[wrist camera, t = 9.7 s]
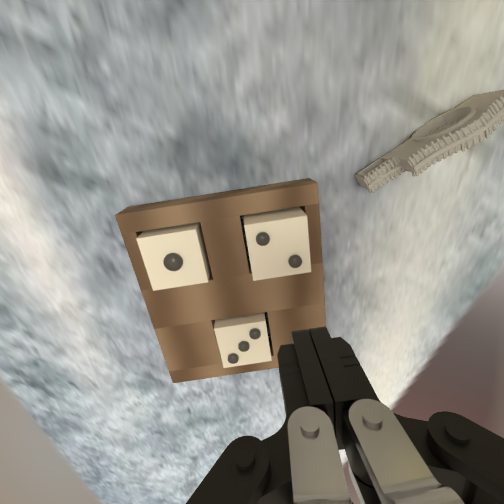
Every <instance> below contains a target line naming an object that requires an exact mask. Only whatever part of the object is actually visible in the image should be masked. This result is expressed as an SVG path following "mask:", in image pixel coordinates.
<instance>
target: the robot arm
mask: <svg viewBox="0 0 504 504" xmlns="http://www.w3.org/2000/svg"><path fill="white" fill-rule="evenodd" d="M290 334H291V344H286V345H280V348H279V351H278V354H277V358H278V366H279V373H280V381H281V387H282V393H283V400H284V406H285V412H286V419H285V422H284V424H283V426H282V427H281V429H280V430H279V431H278V432H277V433H275V434H274V435H272V436H270V437H268V438H266V439H264V440H262V441H261V440H259V439H258V438H256V437H253V436H242V437H239V438H237V439H235V440H234V441H232V442H231V443H230V444H229V445H228V446H227V448H226V449H225V450H224V452H223V453H222V455H221V456H220V457H219V459H218V460H217V461H216V463H215V464H214V466H213V467H212V468H211V470H210V471H209V473H208V474H207V475H206V477H205V478H204V479H203V481H202V482H201V484H200V485H199V486H198V488H197V489H196V490H195V492H194V493H193V495H192V496H191V497H190V499H189V500H188V501H187V503H186V504H353V502H351V499H350V496H349V492H348V488H347V484H346V480H345V476H344V471H343V467H342V463H341V459H340V454H339V450H341V449H345V452H346V455H347V458H348V461H349V473H350V477H351V479H352V482H353V484H354V487H355V489H356V492H357V495H358V497H359V500H360V502H361V504H504V438H502V437H500V436H498V435H496V434H494V433H492V432H491V431H489V430H487V429H485V428H483V427H482V426H480V425H478V424H476V423H474V422H472V421H471V420H469V419H467V418H465V417H463V416H461V415H458V414H456V413H452V412H437V413H435V414H433V415H432V416H431V417H430V419H429V421H423V420H417V419H411V418H406V417H402V416H400V415H397V414H395V413H393V412H392V411H391V410H390V409H389V408H388V407H387V406H386V405H384V404H383V403H381V402H380V401H379V399H378V397H377V395H376V393H375V392H374V390H373V388H372V386H371V384H370V382H369V380H368V378H367V376H366V374H365V372H364V371H363V369H362V367H361V366H360V363H359V361H358V359H357V357H356V356H355V353H354V351H353V350H352V348H351V346H350V345H349V344H348V343H347V342H346V341H345V340H344V339H342V338H341V337H337V338H331V337H330V334H329V332H328V330H327V328H326V327H325V326H324V327H317V328H309V329H302V330H295V331H290Z"/></svg>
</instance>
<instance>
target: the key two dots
mask: <svg viewBox="0 0 504 504" xmlns="http://www.w3.org/2000/svg"><path fill="white" fill-rule="evenodd" d="M243 216H244V227H245V233H246V239H247V246H248V252H249V258H250V264H251V270H252V276H253V281H256V280H263V279H269V278H276V277H282V276H289V275H295V274H302V273H308V272H311V261H310V248H309V234H308V221H307V215H306V214H305V213H304V212H303V210H302V209H301V208H300V207H293V208H286V209H280V210H273V211H267V212H261V213H254V214H248V215H243Z"/></svg>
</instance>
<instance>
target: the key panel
mask: <svg viewBox="0 0 504 504" xmlns="http://www.w3.org/2000/svg"><path fill="white" fill-rule="evenodd" d="M293 207H300V208H301V209H302V210H303V212H304V213H305V214H306V215H307V221H308V234H309V248H310V261H311V272H308V273H302V274H295V275H289V276H282V277H276V278H269V279H263V280H256V281H253V276H252V270H251V264H250V261H248V256H247V250H246V244H245V238H244V232H243V226H242V220H241V215H248V214H254V213H261V212H267V211H273V210H280V209H286V208H293ZM115 216H116V219H117V222H118V225H119V228H120V231H121V234H122V237H123V239H124V242H125V245H126V248H127V251H128V254H129V257H130V260H131V263H132V266H133V268H134V271H135V274H136V277H137V280H138V283H139V286H140V289H141V292H142V295H143V297H144V300H145V303H146V306H147V309H148V312H149V315H150V318H151V321H152V323H153V326H154V329H155V332H156V335H157V338H158V341H159V344H160V347H161V350H162V352H163V355H164V358H165V361H166V364H167V367H168V370H169V373H170V376H171V379H172V381H173V383H178V382H184V381H191V380H198V379H205V378H211V377H218V376H225V375H231V374H238V373H245V372H251V371H258V370H265V369H271V368H278V367H279V366H278V358H277V354H278V351H279V348H280V345H286V344H291V334H290V331H295V330H302V329H309V328H317V327H324V326H325V327H326V319H325V301H324V283H323V266H322V248H321V230H320V213H319V195H318V183H317V182H315V181H313V180H311V179H310V178H308V179H302V180H295V181H289V182H283V183H276V184H270V185H264V186H257V187H251V188H245V189H238V190H232V191H226V192H219V193H213V194H207V195H200V196H194V197H188V198H181V199H175V200H169V201H162V202H156V203H150V204H143V205H137V206H131V207H127V208H126V209H124V210H122V211H121V212H119V213H118V214H116V215H115ZM197 222H200V223H201V228H202V232H203V237H204V241H205V245H206V250H207V254H208V259H209V263H210V267H211V272H210V277H209V282H207V283H201V284H194V285H188V286H181V287H175V288H168V289H162V290H155V291H153V289H152V286H151V283H150V280H149V276H148V273H147V270H146V267H145V264H144V261H143V258H142V255H141V252H140V249H139V246H138V243H137V240H136V238H137V237H138V236H139V235H140V234H141V233H142V232H143V231H146V230H152V229H159V228H165V227H171V226H178V225H184V224H190V223H197ZM263 312H267V315H268V322H269V329H270V335H271V337H268V339H269V346H270V352H271V359H272V361H268V362H261V363H254V364H248V365H241V366H234V367H228V368H223V363H222V359H221V355H220V351H219V347H218V343H217V339H216V335H215V331H214V325H215V320H217V319H223V318H230V317H236V316H243V315H250V314H256V313H263Z"/></svg>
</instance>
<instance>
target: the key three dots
mask: <svg viewBox="0 0 504 504" xmlns="http://www.w3.org/2000/svg"><path fill="white" fill-rule="evenodd" d="M214 331H215V335H216V339H217V343H218V347H219V351H220V355H221V359H222V363H223V368H228V367H234V366H241V365H248V364H254V363H261V362H268V361H272V359H271V352H270V346H269V339H268V333H267V326H266V320H265V314H264V312H263V313H256V314H250V315H243V316H236V317H230V318H223V319H217V320H215V325H214Z"/></svg>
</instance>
